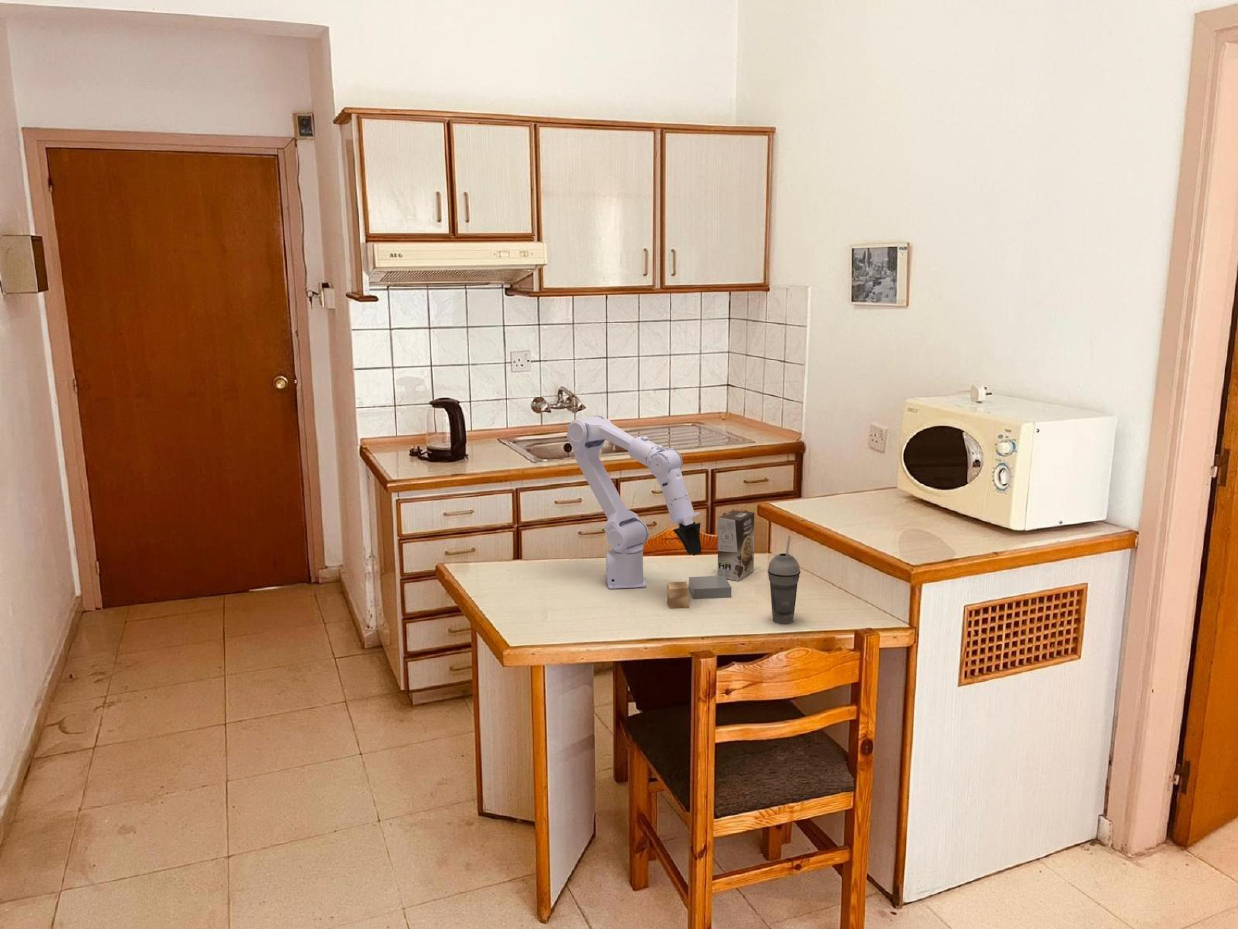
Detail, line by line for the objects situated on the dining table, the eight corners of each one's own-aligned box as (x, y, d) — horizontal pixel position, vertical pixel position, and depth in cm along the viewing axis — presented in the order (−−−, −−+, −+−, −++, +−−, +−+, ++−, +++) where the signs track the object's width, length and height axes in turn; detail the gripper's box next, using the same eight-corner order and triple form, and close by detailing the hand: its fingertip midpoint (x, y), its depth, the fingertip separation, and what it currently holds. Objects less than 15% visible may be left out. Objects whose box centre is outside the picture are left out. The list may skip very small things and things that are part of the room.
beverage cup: (777, 612, 223) (778, 528, 219) (805, 619, 219) (807, 534, 215) (760, 621, 218) (761, 536, 214) (789, 629, 213) (790, 541, 209)
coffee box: (739, 581, 245) (740, 520, 241) (716, 577, 248) (716, 516, 245) (754, 571, 252) (755, 511, 249) (732, 568, 256) (732, 508, 252)
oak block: (669, 609, 227) (669, 588, 226) (667, 602, 231) (667, 582, 230) (688, 608, 227) (688, 588, 226) (685, 601, 232) (685, 581, 231)
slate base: (694, 599, 233) (694, 589, 233) (688, 586, 242) (688, 577, 241) (731, 597, 234) (731, 587, 233) (724, 585, 242) (724, 575, 242)
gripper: (697, 493, 223) (715, 549, 222) (689, 495, 238) (706, 548, 237) (668, 502, 223) (686, 558, 222) (662, 504, 237) (679, 557, 236)
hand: (695, 554), depth 229 cm, fingers open, 7 cm apart
